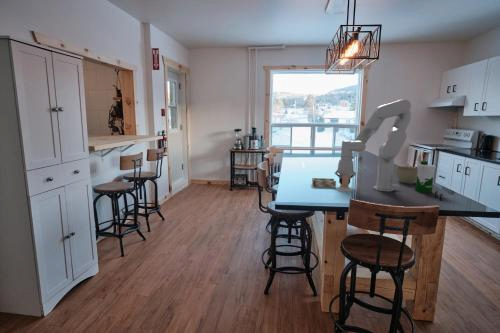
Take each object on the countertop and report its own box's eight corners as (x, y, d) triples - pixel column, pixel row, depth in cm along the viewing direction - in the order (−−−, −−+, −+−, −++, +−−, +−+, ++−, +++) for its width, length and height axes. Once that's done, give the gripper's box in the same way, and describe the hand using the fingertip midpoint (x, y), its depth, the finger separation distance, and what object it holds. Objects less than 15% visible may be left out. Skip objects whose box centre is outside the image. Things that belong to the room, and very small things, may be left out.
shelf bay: (333, 184, 210) (333, 178, 209) (335, 187, 202) (336, 181, 201) (312, 183, 211) (312, 177, 211) (313, 186, 203) (313, 180, 202)
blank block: (346, 185, 207) (347, 173, 206) (348, 187, 203) (349, 174, 201) (340, 185, 208) (341, 173, 206) (341, 187, 203) (342, 174, 202)
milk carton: (423, 189, 200) (426, 160, 197) (434, 192, 192) (438, 162, 188) (412, 190, 198) (416, 161, 194) (423, 193, 189) (427, 163, 186)
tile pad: (349, 188, 201) (349, 187, 200) (353, 191, 192) (353, 190, 192) (336, 187, 201) (336, 186, 201) (339, 191, 193) (339, 190, 193)
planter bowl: (418, 186, 209) (419, 171, 207) (393, 182, 218) (394, 168, 216) (419, 181, 222) (421, 167, 220) (396, 179, 231) (397, 165, 229)
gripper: (357, 157, 205) (355, 183, 208) (333, 157, 206) (331, 182, 209) (360, 159, 197) (358, 185, 201) (334, 158, 199) (333, 184, 202)
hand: (344, 183), depth 205 cm, fingers closed on blank block, 4 cm apart
